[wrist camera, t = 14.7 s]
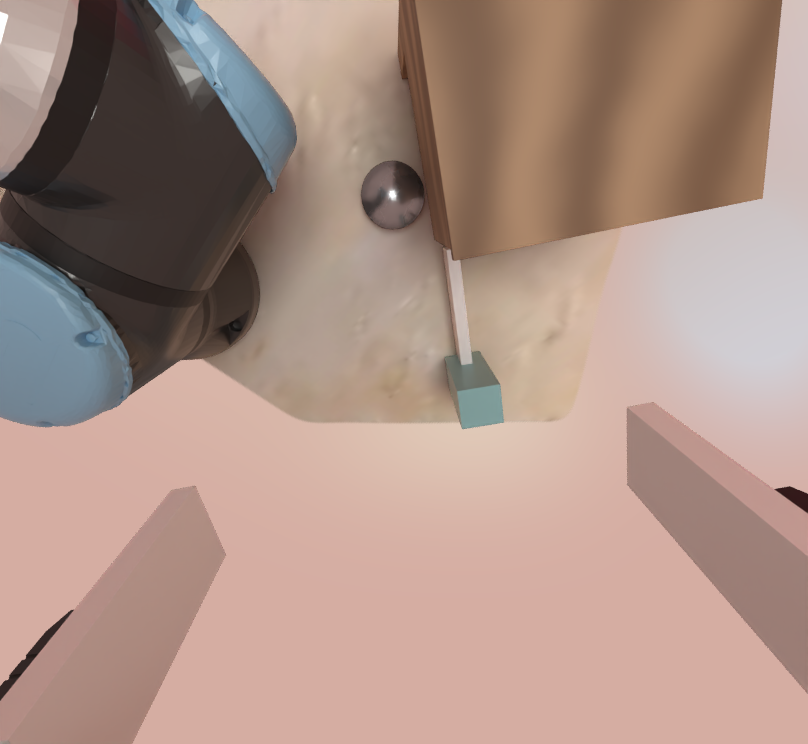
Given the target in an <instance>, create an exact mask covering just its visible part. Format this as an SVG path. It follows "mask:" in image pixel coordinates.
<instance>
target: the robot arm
mask: <svg viewBox="0 0 808 744" xmlns="http://www.w3.org/2000/svg"><path fill="white" fill-rule="evenodd" d="M296 140H297V135H296V126H295V123H294V120H293V116H292V114H291V112H290V111H289V109H288V107H287V106H286V104H285V102H284V101H283V100H282V98H281V97H280V95H279V94H278V93H277V92H276V90H275V89H274V88H273V86H272V85H271V84H270V83H269V81H268V80H267V79H266V78H265V77H264V75H263V74H262V73H261V72H260V71H259V69H258V68H257V67H256V66H255V65H254V64H253V62H252V61H251V60H250V59H249V58H248V57H247V56H246V54H245V53H244V52H243V51H242V50H241V49H240V48H239V47H238V45H237V44H236V43H235V42H234V41H233V40H232V39H231V38H230V37H229V35H228V34H227V33H226V32H225V31H224V30H223V29H222V28H221V27H220V26H219V25H218V24H217V23H216V22H215V21H214V20H213V19H212V18H211V17H210V16H209V15H208V14H207V13H205V12H204V11H202V10H201V9H199V7H198V5H197V3H196V2H195V1H194V0H0V187H2V188H5V189H6V191H5V193H4V195H3V198H2V200H1V202H0V417H2V418H4V419H7V420H10V421H13V422H17V423H20V424H25V425H30V426H37V427H52V426H70V425H75V424H78V423H81V422H84V421H86V420H89V419H91V418H93V417H95V416H97V415H98V414H100V413H102V412H104V411H107V410H111V409H113V408H114V407H117V406H119V405H120V404H121V403H122V401H124V400H125V399H126V398H127V397H128V396H129V395H130V394H132V393H133V392H135V391H136V390H138V389H139V388H141V387H142V386H144V385H145V384H146V383H148V382H149V381H151V380H152V379H154V378H155V377H157V376H158V375H160V374H161V373H162V372H164V371H165V370H167V369H168V368H170V367H171V366H172V365H174V364H175V363H177V362H178V361H180V360H193V359H202V358H207V357H210V356H214V355H216V354H219V353H221V352H223V351H225V350H226V349H228V348H229V347H231V346H232V345H233V344H235V343H236V342H237V341H238V340H240V339H241V338H242V337H243V336H244V335H245V334H246V332H247V331H248V330H249V328H250V327H251V325H252V323H253V321H254V319H255V317H256V314H257V310H258V306H259V296H260V292H259V282H258V277H257V274H256V270H255V268H254V265H253V263H252V261H251V259H250V257H249V255H248V253H247V252H246V250H245V249H244V247H243V246H242V245H241V243H240V242H239V241H240V239H241V238H242V236H243V235H244V233H245V231H246V230H247V228H248V226H249V225H250V223H251V222H252V220H253V218H254V217H255V215H256V213H257V212H258V210H259V209H260V207H261V205H262V204H263V202H264V200H265V199H266V197H267V195H268V194H269V193H271V194H272V193H274V191H275V190H276V187H277V179H278V178H279V176H280V174H281V172H282V170H283V169H284V167H285V165H286V163H287V161H288V160H289V158H290V156H291V154H292V152H293V150H294V148H295V145H296ZM627 482H628V483H627V485H628V486H629V487H630V489H631V490H632V491H633V492H634V493H635V494H636V495H637V496H638V498H639V499H640V500H641V501H642V502H643V504H644V505H645V506H646V507H647V508H648V509H649V511H650V512H651V513H652V514H653V515H654V516H655V517H656V519H657V520H658V521H659V522H660V523H661V524H662V525H663V527H664V528H665V529H666V530H667V531H668V532H669V534H670V535H671V536H672V537H673V538H674V539H675V541H676V542H677V543H678V544H679V545H680V546H681V548H682V549H683V550H684V551H685V552H686V553H687V555H688V556H689V557H690V558H691V559H692V560H693V561H694V563H695V564H696V565H697V566H698V567H699V568H700V570H701V571H702V572H703V573H704V574H705V575H706V577H708V579H709V580H710V581H711V582H712V583H713V584H714V586H715V587H716V588H717V589H718V590H719V592H720V593H721V594H722V595H723V596H724V597H725V598H726V600H727V601H728V602H729V603H730V604H731V605H732V607H733V608H734V609H735V610H736V611H737V612H738V614H739V615H740V616H741V617H742V618H743V619H744V621H745V622H746V623H747V624H748V625H749V626H750V627H751V629H752V630H753V631H754V632H755V633H756V634H757V636H758V637H759V638H760V639H761V640H762V641H763V642H764V644H765V645H766V646H767V647H768V648H769V649H770V651H771V652H772V653H773V654H774V655H775V656H776V657H777V659H778V660H779V661H780V662H781V663H782V664H783V666H784V667H785V668H786V669H787V670H788V671H789V673H790V674H791V675H792V676H793V677H794V678H795V679H796V681H797V682H798V683H799V684H800V685H801V687H802V688H803V689H804V690H805V691H806V692H807V693H808V494H807V493H804V492H802V491H800V490H797V489H795V488H793V487H790V486H789V487H784V488H778V489H773V488H772V487H770V486H769V485H767V484H766V483H764V482H763V481H762V480H760V479H759V478H758V477H756V476H755V475H753V474H752V473H751V472H749V471H748V470H747V469H745V468H744V467H742V466H741V465H740V464H738V463H737V462H736V461H734V460H733V459H731V458H730V457H729V456H727V455H726V454H724V453H723V452H722V451H720V450H719V449H717V448H716V447H715V446H713V445H712V444H711V443H709V442H708V441H706V440H705V439H704V438H702V437H701V436H700V435H698V434H697V433H695V432H694V431H693V430H691V429H690V428H688V427H687V426H686V425H684V424H683V423H682V422H680V421H679V420H677V419H676V418H675V417H673V416H672V415H670V414H669V413H668V412H666V411H665V410H663V409H662V408H661V407H659V406H658V405H657V404H655V403H654V402H651V403H646V404H641V405H635V406H630V407H627ZM225 556H226V554H225V552H224V549H223V547H222V545H221V543H220V540H219V538H218V536H217V533H216V531H215V529H214V527H213V524H212V522H211V520H210V518H209V516H208V513H207V511H206V509H205V506H204V504H203V502H202V500H201V498H200V495H199V493H198V491H197V488H196V486H192V487H186V488H180V489H175V490H171V491H170V493H169V494H168V495H167V496H166V497H165V499H164V500H163V501H162V503H161V504H160V505H159V506H158V507H157V509H156V510H155V511H154V512H153V514H152V515H151V516H150V517H149V518H148V520H147V521H146V522H145V523H144V525H143V526H142V527H141V528H140V530H139V531H138V532H137V533H136V534H135V536H134V537H133V538H132V539H131V541H130V542H129V543H128V544H127V546H126V547H125V548H124V549H123V551H122V552H121V553H120V554H119V555H118V557H117V558H116V559H115V561H114V562H113V563H112V564H111V565H110V567H109V568H108V569H107V570H106V571H105V573H104V574H103V575H102V576H101V578H100V579H99V580H98V581H97V583H96V584H95V585H94V586H93V587H92V589H91V590H90V591H89V592H88V594H87V595H86V596H85V597H84V598H83V600H82V601H81V602H80V603H79V605H78V606H77V607H76V608H75V610H71V611H70V612H68V613H67V614H66V615H65V616H64V617H62V618H61V619H60V620H59V621H58V622H57V623H55V624H54V625H53V626H52V627H51V628H50V629H48V630H47V631H46V632H45V633H44V635H43V636H42V637H41V638H40V639H39V640H38V642H37V643H36V644H35V645H34V647H33V648H32V649H31V650H30V651H29V652H28V654H27V655H26V659H25V660H22V661H21V662H20V663H19V664H18V666H17V667H16V668H15V669H14V670H13V672H12V673H11V674H10V675H9V676H10V677H9V679H8V680H6V681H4V682H3V684H2V685H1V686H0V744H132V743H133V741H134V739H135V737H136V735H137V733H138V731H139V729H140V727H141V725H142V723H143V721H144V719H145V717H146V714H147V713H148V711H149V709H150V707H151V705H152V702H153V701H154V699H155V697H156V695H157V693H158V691H159V689H160V687H161V685H162V682H163V680H164V679H165V676H166V674H167V672H168V670H169V668H170V666H171V664H172V662H173V660H174V658H175V656H176V654H177V652H178V650H179V648H180V646H181V644H182V642H183V640H184V638H185V636H186V634H187V632H188V630H189V628H190V626H191V624H192V622H193V620H194V618H195V616H196V614H197V612H198V610H199V608H200V606H201V604H202V602H203V600H204V598H205V596H206V594H207V592H208V590H209V588H210V586H211V584H212V581H213V580H214V578H215V576H216V574H217V572H218V570H219V568H220V566H221V564H222V562H223V560H224V558H225Z"/></svg>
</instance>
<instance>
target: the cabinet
mask: <svg viewBox="0 0 808 744" xmlns="http://www.w3.org/2000/svg"><path fill="white" fill-rule="evenodd" d="M781 6H782V0H399V23H398V57H399V63H400V69H401V75H402V79H404V78H408V80H409V86H410V92H411V98H412V105H413V111H414V117H415V123H416V129H417V135H418V141H419V148H420V154H421V160H422V166H423V172H424V178H425V184H426V190H427V197H428V203H429V209H430V215H431V221H432V227H433V233H434V240H436V241H437V242H439V243H441V244H442V245H444V246H446V247H447V248H449V249H451V255H452V260H453V261H457V260H462V259H467V258H472V257H477V256H481V255H486V254H491V253H496V252H501V251H506V250H511V249H516V248H521V247H526V246H531V245H536V244H540V243H545V242H550V241H555V240H560V239H565V238H570V237H575V236H580V235H585V234H590V233H595V232H599V231H604V230H609V229H614V228H619V227H624V226H629V225H634V224H639V223H643V222H649V221H654V220H658V219H663V218H668V217H673V216H677V215H683V214H688V213H693V212H698V211H703V210H708V209H712V208H717V207H722V206H727V205H732V204H737V203H742V202H747V201H752V200H757V199H762V198H763V189H764V178H765V169H766V158H767V149H768V138H769V128H770V118H771V108H772V98H773V88H774V78H775V67H776V57H777V47H778V37H779V27H780V17H781Z"/></svg>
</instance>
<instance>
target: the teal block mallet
mask: <svg viewBox="0 0 808 744" xmlns="http://www.w3.org/2000/svg"><path fill="white" fill-rule="evenodd" d="M443 254H444V262H445V270H446V277H447V285H448V292H449V300H450V307H451V315H452V323H453V330H454V338H455V345H456V353H457V355H454V356H448V357H445V363H446V370H447V377H448V384H449V390H450V393H451V396H452V399H453V402H454V405H455V408H456V411H457V415H458V418H459V421H460V424H461V427H462V429H467V428H472V427H479V426H485V425H492V424H498V423H504V419H503V409H502V398H501V388H500V383H499V382H498V380H497V378H496V377H495V375H494V374H493V372H492V371H491V369H490V367H489V366H488V364H487V363H486V361H485V359H484V358H483V356H482V355H481V353H480V352H479V351H478V352H472V353H471V346H470V338H469V329H468V321H467V312H466V304H465V296H464V287H463V279H462V270H461V262H460V260H457V261H453V260H452V255H451V249H449V248H447V247H443Z"/></svg>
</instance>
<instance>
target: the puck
mask: <svg viewBox="0 0 808 744" xmlns="http://www.w3.org/2000/svg"><path fill="white" fill-rule="evenodd" d="M361 198H362V204H363V207H364V210H365V212H366V213H367V215H368V216H369V218H370V219H371V220H372V221H373V222H374V223H376V224H377V225H379V226H381V227H384V228H387V229H399V228H402V227H405V226H407V225H409V224H410V223H412V222H413V221H414V220H415V219H416V218H417V216H418V215H419V213H420V211H421V209H422V206H423V202H424V188H423V184H422V182H421V179H420V177H419V176H418V174H417V173H416V172H415V171H414V170H413V169H412V168H411V167H410V166H408V165H406V164H404V163H402V162H398V161H387V162H383V163H380V164H379V165H377V166H375V167H374V168H373V169H372V170H371V171H370V172H369V173H368V174H367V176H366V178H365V180H364V182H363V185H362V191H361Z"/></svg>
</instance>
